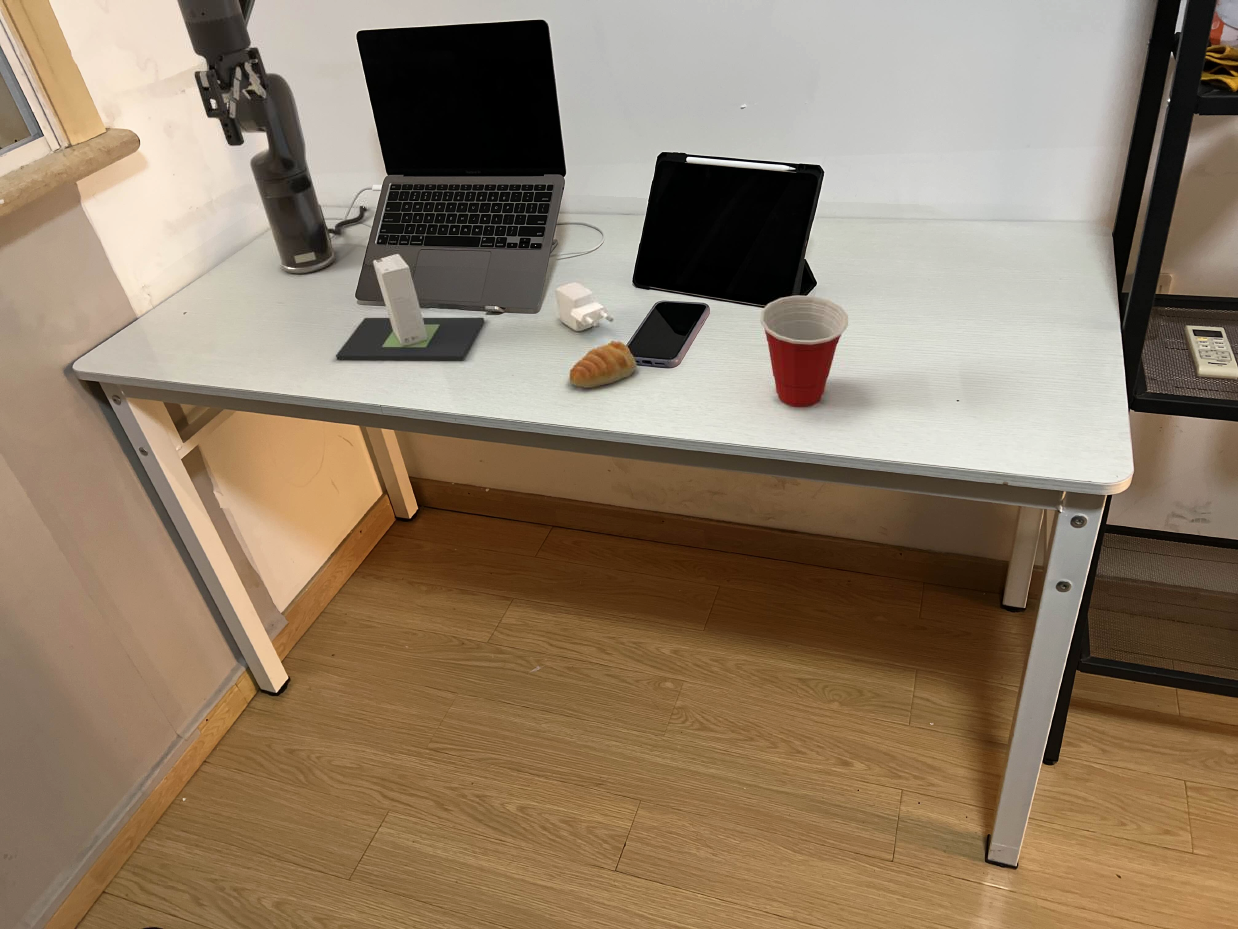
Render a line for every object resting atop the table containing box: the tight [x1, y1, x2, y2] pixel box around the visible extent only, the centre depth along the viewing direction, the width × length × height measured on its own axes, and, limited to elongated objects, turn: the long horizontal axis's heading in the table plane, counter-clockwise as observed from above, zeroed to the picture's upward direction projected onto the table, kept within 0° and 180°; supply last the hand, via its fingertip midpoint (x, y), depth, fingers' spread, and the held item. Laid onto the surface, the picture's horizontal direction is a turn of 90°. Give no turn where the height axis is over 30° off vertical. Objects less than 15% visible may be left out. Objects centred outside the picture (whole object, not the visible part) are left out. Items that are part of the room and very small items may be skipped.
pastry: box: [569, 340, 638, 389], centre depth 128 cm, size 9×7×4 cm
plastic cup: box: [759, 295, 849, 408], centre depth 117 cm, size 11×11×12 cm
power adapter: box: [555, 281, 614, 332], centre depth 139 cm, size 11×5×6 cm, turn 33°
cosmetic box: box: [372, 253, 428, 346], centre depth 138 cm, size 6×4×12 cm
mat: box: [335, 317, 485, 362], centre depth 142 cm, size 12×20×1 cm, turn 81°
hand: (251, 135), depth 133 cm, fingers open, 8 cm apart
